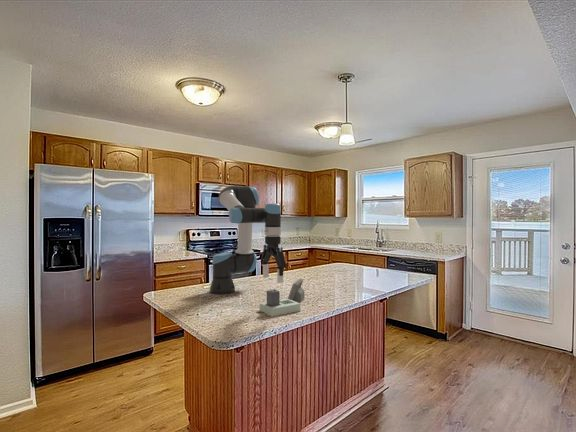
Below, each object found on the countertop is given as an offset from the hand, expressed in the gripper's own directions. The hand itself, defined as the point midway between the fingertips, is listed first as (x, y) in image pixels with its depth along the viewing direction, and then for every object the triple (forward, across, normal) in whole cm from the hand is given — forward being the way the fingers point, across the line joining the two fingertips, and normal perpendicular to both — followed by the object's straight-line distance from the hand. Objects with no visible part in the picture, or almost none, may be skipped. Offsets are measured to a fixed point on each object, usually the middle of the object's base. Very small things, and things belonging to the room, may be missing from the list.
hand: (272, 279), depth 155 cm
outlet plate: (+15, +1, +4) cm, 16 cm away
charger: (+15, +1, 0) cm, 15 cm away
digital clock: (+16, -12, +22) cm, 29 cm away
